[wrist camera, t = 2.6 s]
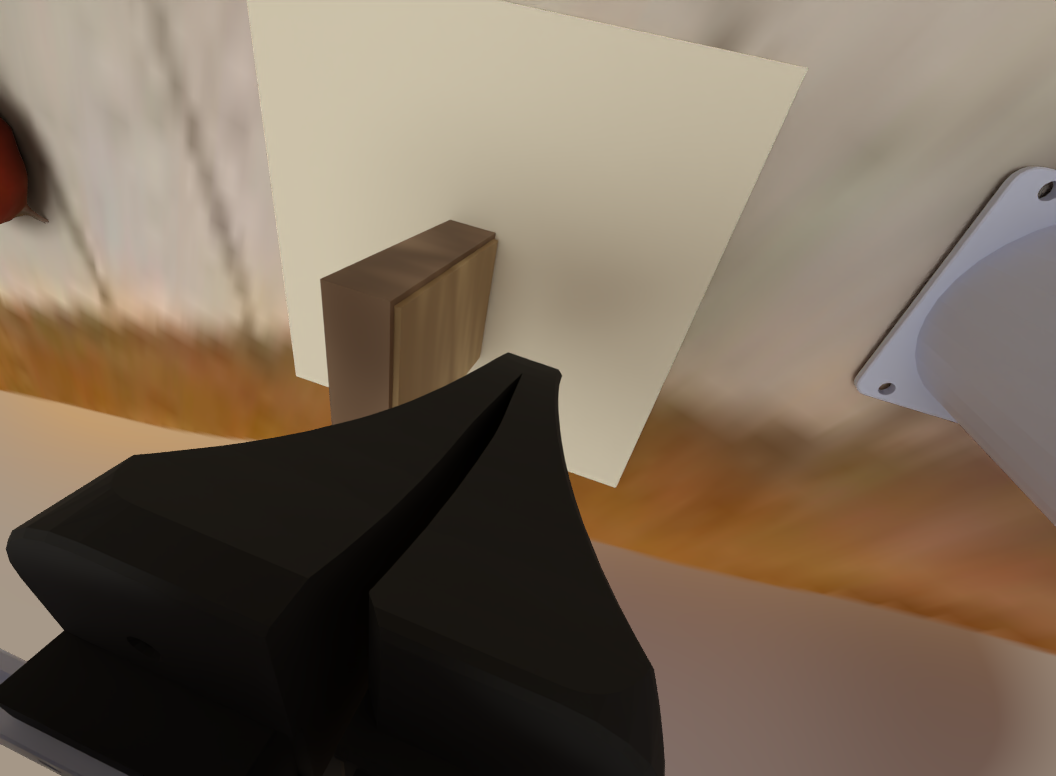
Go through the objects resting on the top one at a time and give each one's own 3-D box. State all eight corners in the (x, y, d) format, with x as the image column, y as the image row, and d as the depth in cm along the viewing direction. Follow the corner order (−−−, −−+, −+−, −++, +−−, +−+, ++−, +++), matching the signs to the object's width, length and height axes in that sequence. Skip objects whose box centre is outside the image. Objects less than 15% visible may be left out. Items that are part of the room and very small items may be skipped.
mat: (804, 69, 13) (808, 67, 12) (616, 482, 23) (615, 487, 23) (248, -54, 15) (238, -57, 15) (301, 372, 25) (296, 375, 25)
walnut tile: (500, 234, 17) (397, 303, 11) (480, 359, 21) (393, 469, 14) (450, 219, 18) (319, 278, 11) (438, 345, 21) (333, 447, 15)
